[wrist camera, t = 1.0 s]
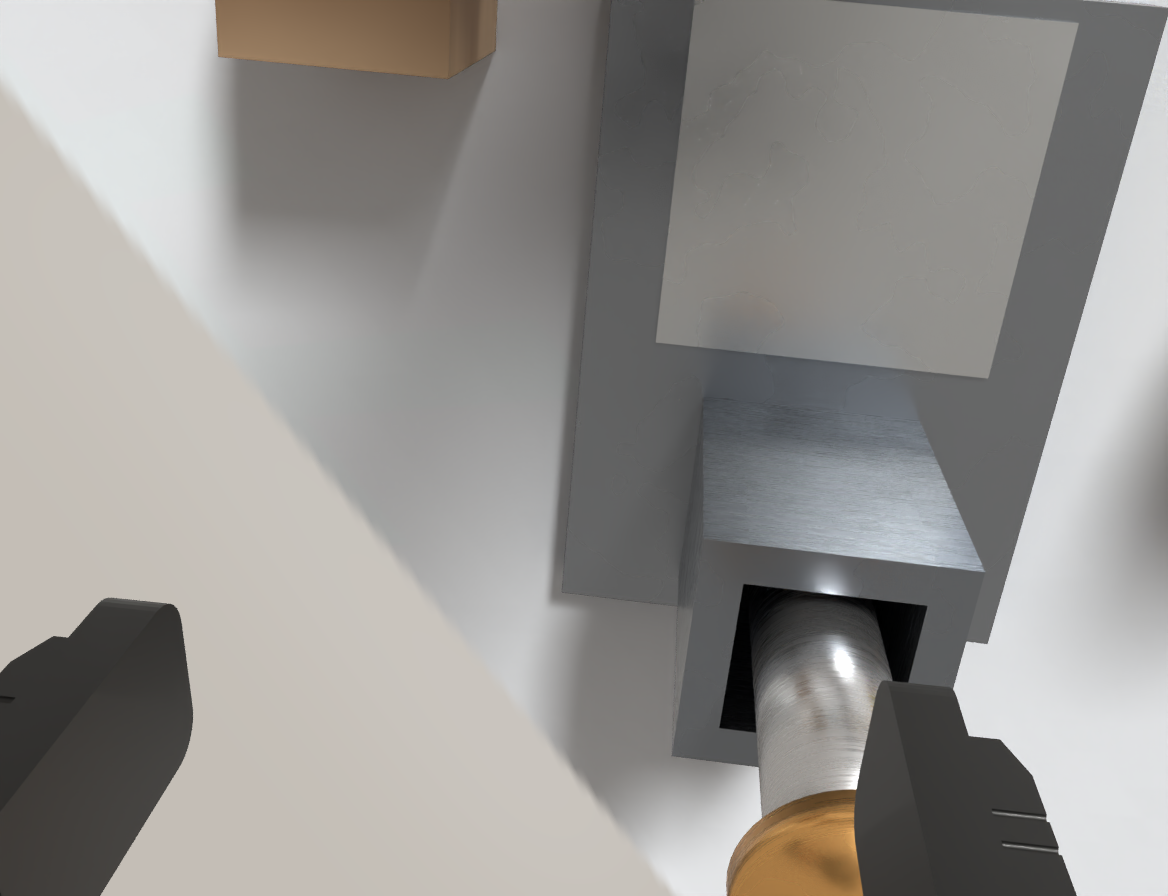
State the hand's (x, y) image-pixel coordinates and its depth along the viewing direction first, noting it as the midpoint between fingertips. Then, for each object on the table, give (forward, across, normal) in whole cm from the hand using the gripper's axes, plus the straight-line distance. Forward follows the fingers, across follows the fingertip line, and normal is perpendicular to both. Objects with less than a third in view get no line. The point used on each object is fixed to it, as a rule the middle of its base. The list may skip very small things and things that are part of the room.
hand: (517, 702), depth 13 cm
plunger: (+15, -5, +7) cm, 17 cm away
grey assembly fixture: (+20, -6, +2) cm, 21 cm away
